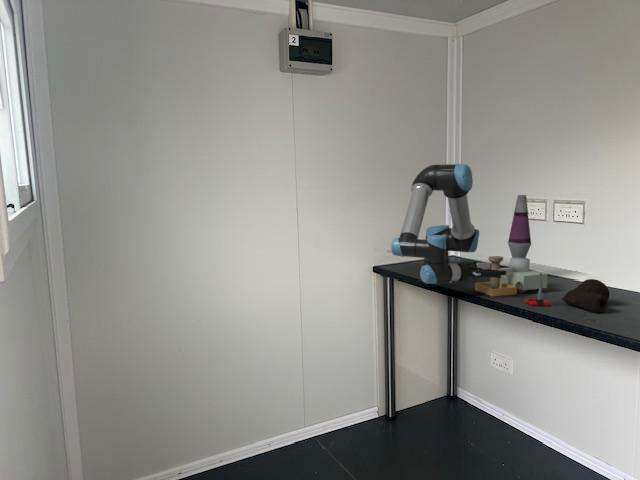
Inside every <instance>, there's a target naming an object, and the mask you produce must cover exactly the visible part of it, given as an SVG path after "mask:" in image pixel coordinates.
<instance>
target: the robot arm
mask: <svg viewBox="0 0 640 480" xmlns="http://www.w3.org/2000/svg"><path fill="white" fill-rule="evenodd" d="M473 181H474V179H473V172H472V169H471V167H470V166H469V165H468V164H465V163H462V164H461V163H457V164H456V163H455V164H432V165H429V166H427V167H424V168H423V169H422V170H421V171H420V172H419V173H418V174H417V175H416V176H415V178H414V180H413V182H412V183H411V186H410V191H411V196H410V199H409V203H408V207H407V211H406V212H405V213H406V214H405V217H404V221H403V225H402V228H401V232H400V235H399V237H395V238H393V240H392V241H391V246H390V249H391V253H392V255H394V256H396V257H401V258H402V257H404V258H405V257H406V258H419V259H423V260H422V263H421V268H420V271H419V275H420V280H421V281H422V282H423V283H424V284H441V283H449V284H451V283H452V282H464V281H467V280H468V279H469V278H470V277H475V278H490V277H495V278H500V277H501V276H506V275H511V271H512V269H511V268H510V267H506V268H507V269H497V270H491V262H490V261H488V262H477V261H473V262H468V263H466V262H453V263H452V262H451V260H450V257H449V252H458V253H459V252H461V253H475V252H476V251H477V249H478V244H479V238H480V230H479V229H478V228H475V225H473V224H472V222H471V221H472V220H471V215H470V208H469V200H468V193H470V191H471V190H472V188H473V185H474V184H473ZM434 191H440V192H441V191H442V192H443V195H444V196H445V197H446V198H447V201H448V206H449V211H450V217H451V223H452V226H451V228H450V225H449V224H442V225H434V226H428V227H427V228H426V232H425V239H419V236H420V232H421V228H422V225H423V221H424V217H425V212H426V209H427V205H428V202H429V198H430V197H431V196H432V195H433V192H434Z"/></svg>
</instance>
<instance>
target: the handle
mask: <svg viewBox="0 0 640 480" xmlns="http://www.w3.org/2000/svg"><path fill="white" fill-rule="evenodd" d="M503 261H504V257H503V256H501V255H500V256H499V255H494V256H493V255H492V256H488V262H490V263H491V265H490V270H497V269H500V268H501V262H503ZM489 278H490V279H489V280H490V281H489V282H490V284H491V288H493V289H495V288H499V287H500V278H495V277H489Z"/></svg>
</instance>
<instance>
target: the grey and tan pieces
mask: <svg viewBox="0 0 640 480" xmlns="http://www.w3.org/2000/svg"><path fill="white" fill-rule="evenodd" d="M530 262H531V259H529V258H527V257H526V258H520V257H514V258H512V257H510V259H509V268H511V269H512V271H511V275H506V276H501V277H500V287H499V288H495V289H493V288H491V284H490V281H480V282H475V283H474V291H477V292H479V293H482V294H485V295H487V296H490V297H498V296H499V297H501V296H510V295H517V294H526V293H527V291H529V290H535V291H537V292H538V290H539V278H540V273H542V292H545V291H546V290H547V288H548V275H549V274H548V273H546V272H541V271H537V270H535V269H531V268H530V264H531V263H530ZM507 268H508V267H500V269H507Z"/></svg>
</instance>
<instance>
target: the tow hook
mask: <svg viewBox="0 0 640 480" xmlns="http://www.w3.org/2000/svg"><path fill="white" fill-rule="evenodd" d="M542 273H543V272H542ZM542 273H540V278H539V290H538V291H537V297H535V298H534V297H530V298H525V299H524V303H525V304H529V305H530V306H535V307H536V306H537V307H549V306H550V302H549V301H548V300H546V299H543V291H542Z"/></svg>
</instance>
